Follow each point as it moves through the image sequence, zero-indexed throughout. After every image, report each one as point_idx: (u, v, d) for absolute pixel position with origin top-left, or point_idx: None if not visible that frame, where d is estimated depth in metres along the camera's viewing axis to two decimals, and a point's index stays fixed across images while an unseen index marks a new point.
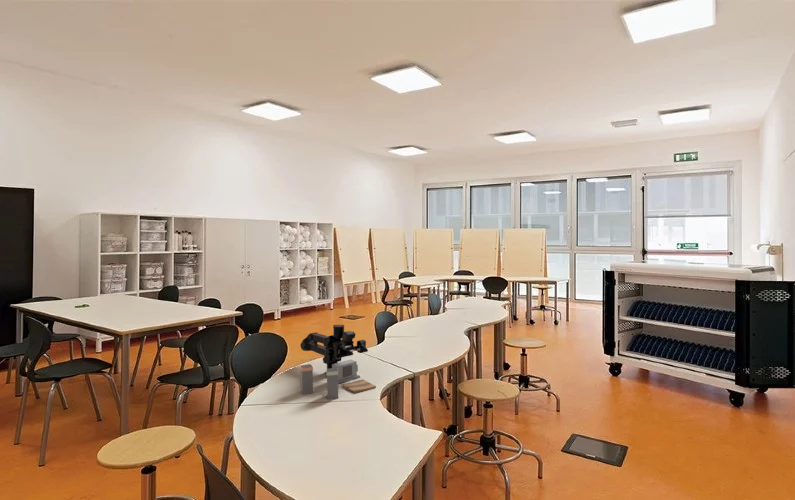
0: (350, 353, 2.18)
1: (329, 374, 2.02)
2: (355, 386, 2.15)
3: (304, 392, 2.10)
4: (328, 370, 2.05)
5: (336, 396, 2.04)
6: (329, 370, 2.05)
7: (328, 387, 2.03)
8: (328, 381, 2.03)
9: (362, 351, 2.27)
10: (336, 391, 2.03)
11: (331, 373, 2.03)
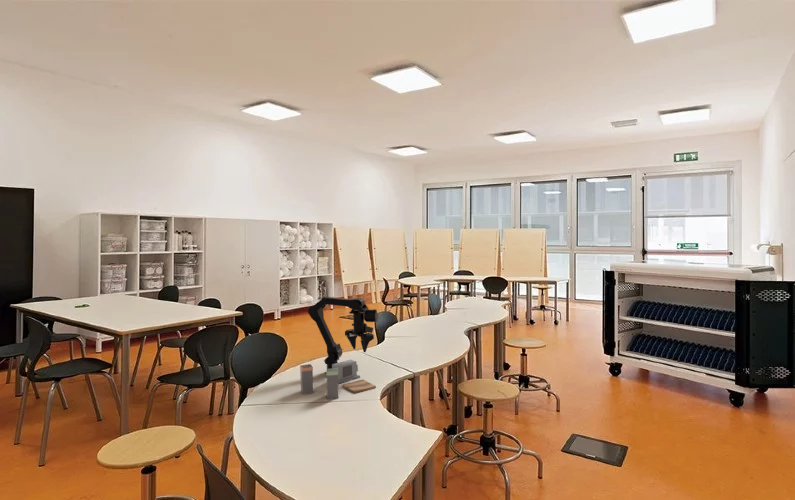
0: (365, 349, 2.32)
1: (329, 374, 2.02)
2: (355, 386, 2.15)
3: (304, 392, 2.10)
4: (328, 370, 2.05)
5: (336, 396, 2.04)
6: (329, 370, 2.05)
7: (328, 387, 2.03)
8: (328, 381, 2.03)
9: (351, 341, 2.38)
10: (336, 391, 2.03)
11: (331, 373, 2.03)
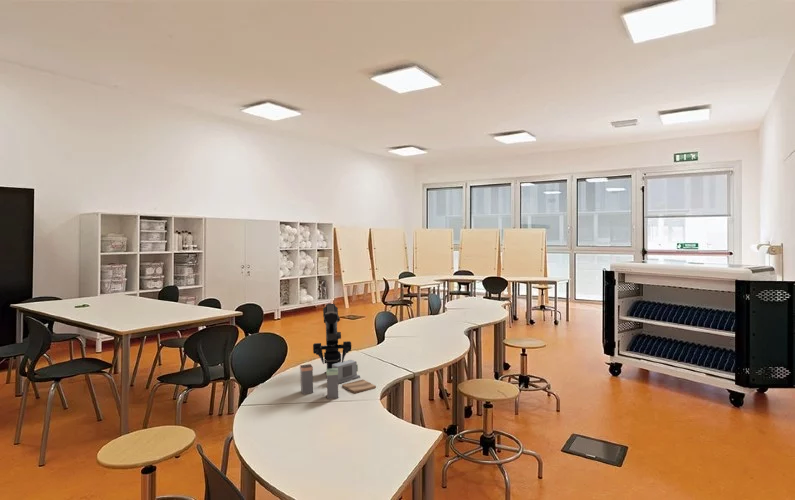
0: (322, 361, 2.13)
1: (329, 374, 2.02)
2: (355, 386, 2.15)
3: (304, 392, 2.10)
4: (328, 370, 2.05)
5: (336, 396, 2.04)
6: (329, 370, 2.05)
7: (328, 387, 2.03)
8: (328, 381, 2.03)
9: None
10: (336, 391, 2.03)
11: (331, 373, 2.03)
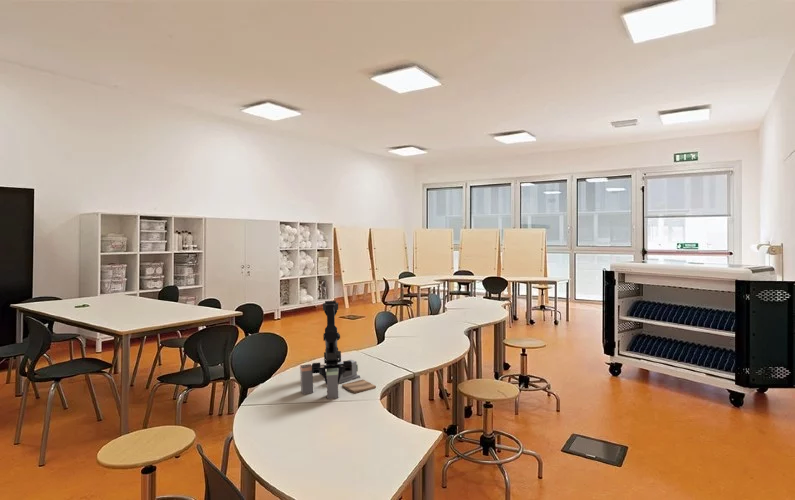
0: (325, 381, 2.04)
1: (329, 374, 2.02)
2: (355, 386, 2.15)
3: (304, 392, 2.10)
4: (328, 370, 2.05)
5: (336, 396, 2.04)
6: (329, 370, 2.05)
7: (328, 387, 2.03)
8: (328, 381, 2.03)
9: None
10: (336, 391, 2.03)
11: (331, 373, 2.03)
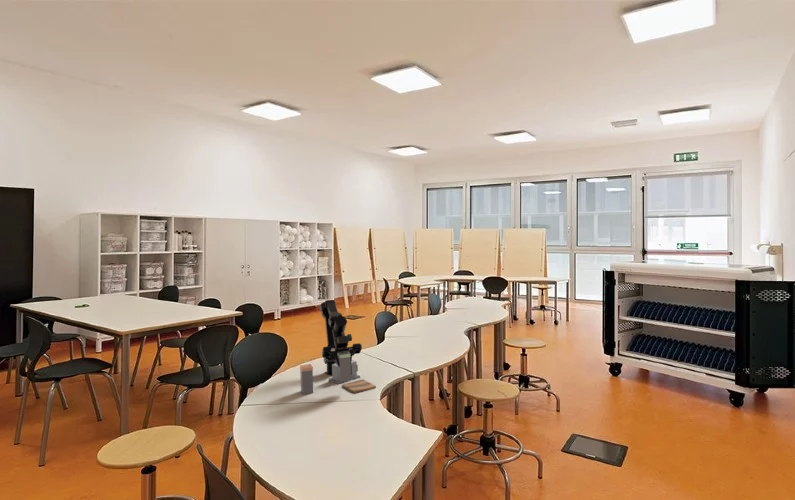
0: (337, 364, 2.08)
1: (342, 357, 2.06)
2: (355, 386, 2.15)
3: (304, 392, 2.10)
4: (340, 353, 2.08)
5: (349, 378, 2.08)
6: (341, 353, 2.08)
7: (341, 369, 2.06)
8: (341, 364, 2.06)
9: None
10: (349, 373, 2.08)
11: (344, 356, 2.06)
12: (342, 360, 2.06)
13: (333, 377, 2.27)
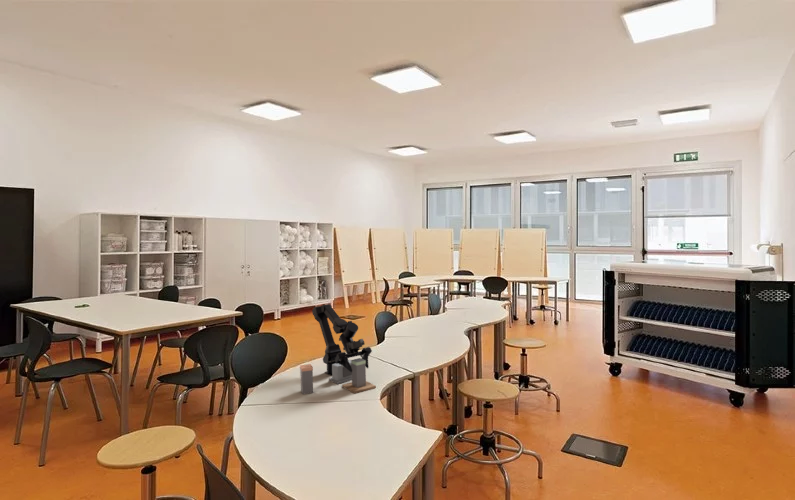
0: (349, 369, 2.13)
1: (358, 364, 2.14)
2: None
3: (304, 392, 2.10)
4: (355, 360, 2.16)
5: (364, 384, 2.16)
6: (356, 360, 2.16)
7: (358, 376, 2.14)
8: (358, 370, 2.14)
9: None
10: (364, 379, 2.16)
11: (360, 362, 2.14)
12: (358, 367, 2.14)
13: (333, 377, 2.27)
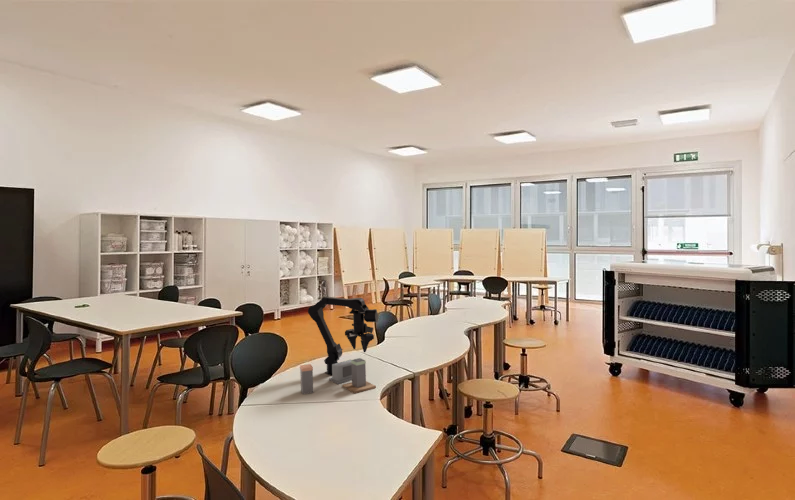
0: (365, 349, 2.32)
1: (358, 364, 2.14)
2: None
3: (304, 392, 2.10)
4: (355, 360, 2.16)
5: (364, 384, 2.16)
6: (356, 360, 2.16)
7: (358, 376, 2.14)
8: (358, 370, 2.14)
9: (351, 341, 2.38)
10: (364, 379, 2.16)
11: (360, 362, 2.14)
12: (358, 367, 2.14)
13: (333, 377, 2.27)
